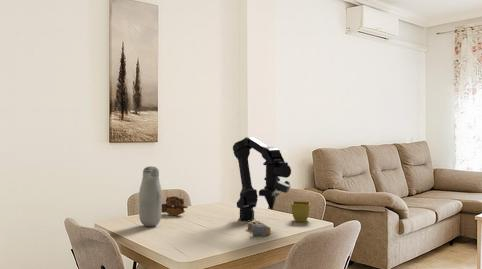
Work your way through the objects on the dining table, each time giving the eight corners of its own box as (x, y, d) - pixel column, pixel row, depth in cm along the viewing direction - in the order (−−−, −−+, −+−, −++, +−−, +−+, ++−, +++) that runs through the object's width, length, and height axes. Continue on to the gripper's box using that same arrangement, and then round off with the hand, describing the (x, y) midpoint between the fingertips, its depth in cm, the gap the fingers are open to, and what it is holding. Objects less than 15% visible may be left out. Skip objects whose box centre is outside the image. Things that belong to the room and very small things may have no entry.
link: (247, 228, 186) (247, 222, 186) (258, 227, 188) (258, 221, 188) (260, 235, 174) (260, 228, 174) (271, 234, 176) (271, 227, 176)
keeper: (251, 234, 177) (251, 224, 177) (264, 233, 177) (264, 224, 177) (252, 236, 172) (252, 226, 172) (265, 236, 173) (265, 226, 173)
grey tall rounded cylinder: (135, 227, 189) (135, 166, 188) (147, 223, 198) (147, 165, 198) (153, 229, 185) (153, 167, 185) (165, 224, 195) (165, 165, 195)
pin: (254, 229, 186) (254, 220, 185) (255, 228, 187) (255, 219, 187) (257, 229, 185) (257, 220, 185) (259, 228, 186) (259, 220, 186)
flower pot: (309, 223, 198) (309, 204, 198) (291, 222, 200) (291, 204, 200) (310, 219, 207) (310, 201, 207) (292, 218, 209) (292, 201, 209)
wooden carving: (157, 215, 218) (157, 196, 218) (161, 213, 222) (161, 195, 222) (185, 217, 212) (185, 197, 212) (189, 215, 217) (189, 196, 217)
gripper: (282, 178, 178) (281, 214, 178) (294, 174, 195) (294, 207, 195) (258, 177, 182) (258, 212, 182) (272, 173, 199) (271, 205, 199)
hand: (271, 209), depth 190 cm, fingers closed
